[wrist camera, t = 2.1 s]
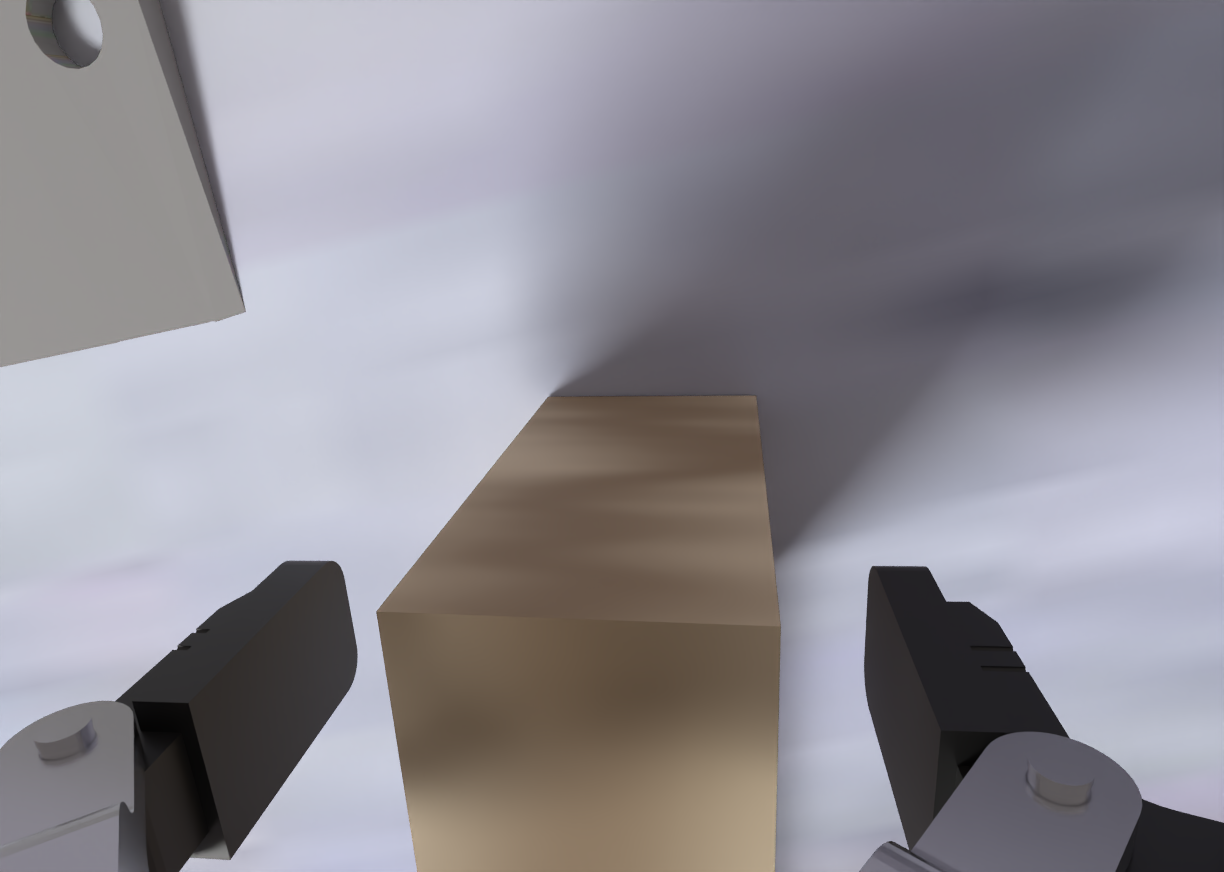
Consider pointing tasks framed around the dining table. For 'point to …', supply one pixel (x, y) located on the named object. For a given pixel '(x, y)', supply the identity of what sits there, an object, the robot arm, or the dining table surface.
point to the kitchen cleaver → (101, 189)
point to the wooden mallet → (596, 649)
